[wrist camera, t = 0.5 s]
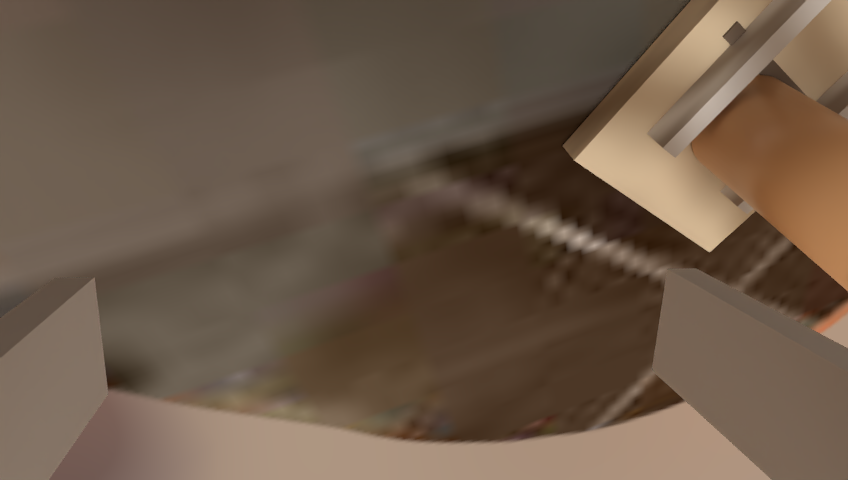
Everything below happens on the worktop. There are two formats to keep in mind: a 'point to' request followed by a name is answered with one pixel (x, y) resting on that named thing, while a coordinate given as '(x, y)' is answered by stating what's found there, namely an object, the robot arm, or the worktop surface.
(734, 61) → the knob mount
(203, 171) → the worktop surface
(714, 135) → the plunger knob
